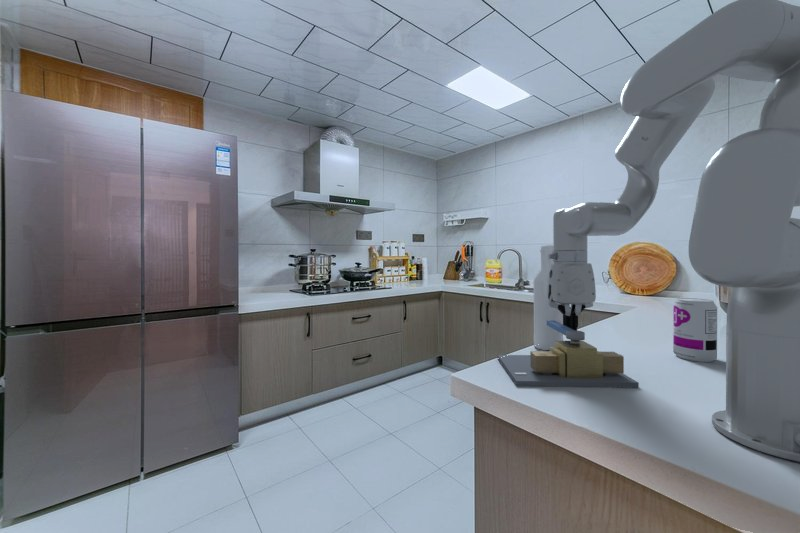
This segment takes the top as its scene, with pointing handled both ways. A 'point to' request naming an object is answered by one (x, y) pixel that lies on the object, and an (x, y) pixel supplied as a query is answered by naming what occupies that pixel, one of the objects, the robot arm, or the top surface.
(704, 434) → the top surface
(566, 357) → the valve
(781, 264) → the robot arm
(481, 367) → the top surface
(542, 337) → the bottle
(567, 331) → the lever
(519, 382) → the base plate
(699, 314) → the supplement can
